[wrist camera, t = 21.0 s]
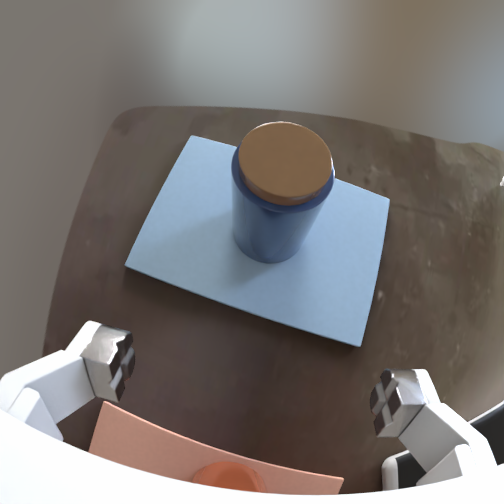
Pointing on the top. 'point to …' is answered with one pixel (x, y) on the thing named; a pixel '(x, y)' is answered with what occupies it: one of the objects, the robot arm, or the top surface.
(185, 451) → the clay mat
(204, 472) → the terracotta jar
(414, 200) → the top surface
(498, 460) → the smartphone
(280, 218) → the blue jar
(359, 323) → the blue mat
